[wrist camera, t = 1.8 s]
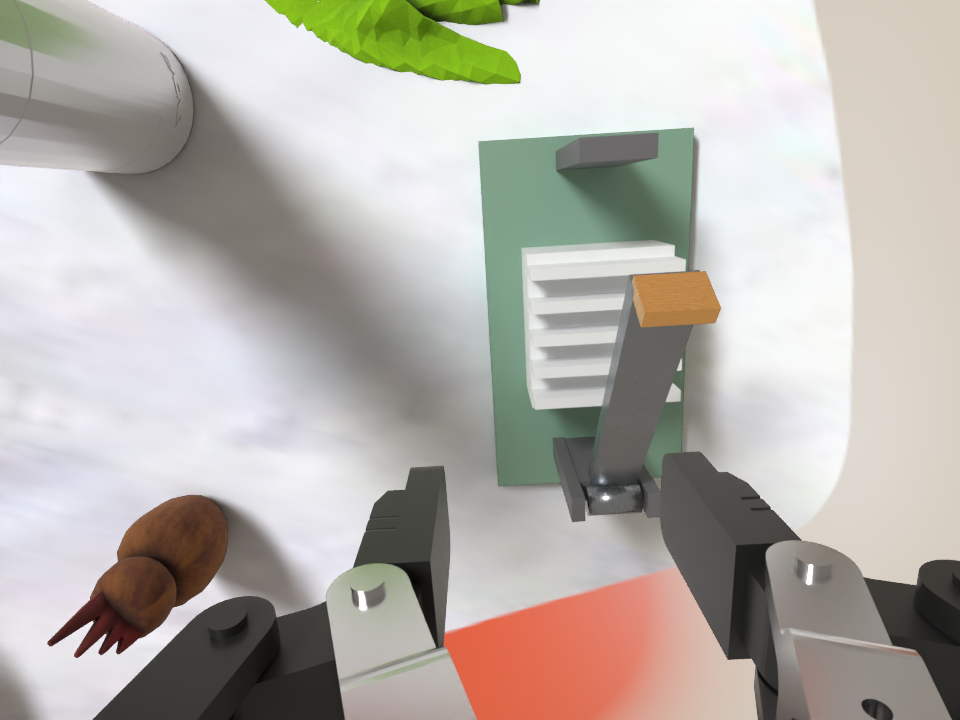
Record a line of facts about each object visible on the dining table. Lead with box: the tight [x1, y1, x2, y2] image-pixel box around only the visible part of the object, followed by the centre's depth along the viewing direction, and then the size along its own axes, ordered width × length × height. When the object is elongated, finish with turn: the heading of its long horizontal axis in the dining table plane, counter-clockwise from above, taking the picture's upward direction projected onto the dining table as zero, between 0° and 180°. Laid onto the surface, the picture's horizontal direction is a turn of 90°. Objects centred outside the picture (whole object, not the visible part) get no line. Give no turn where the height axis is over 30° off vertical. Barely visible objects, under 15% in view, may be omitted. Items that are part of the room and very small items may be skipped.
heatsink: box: [479, 128, 694, 522], centre depth 37 cm, size 14×25×10 cm, turn 3°
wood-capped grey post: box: [585, 270, 721, 516], centre depth 29 cm, size 19×3×2 cm
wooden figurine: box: [47, 495, 227, 658], centre depth 39 cm, size 7×6×15 cm
